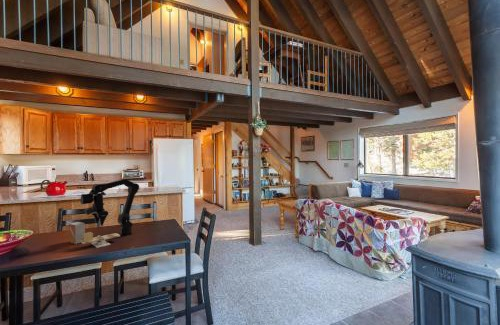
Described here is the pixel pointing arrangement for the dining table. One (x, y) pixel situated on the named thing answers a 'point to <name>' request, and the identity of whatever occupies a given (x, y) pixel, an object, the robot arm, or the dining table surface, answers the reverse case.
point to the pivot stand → (100, 243)
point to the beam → (101, 238)
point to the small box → (76, 232)
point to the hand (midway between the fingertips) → (99, 224)
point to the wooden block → (87, 236)
